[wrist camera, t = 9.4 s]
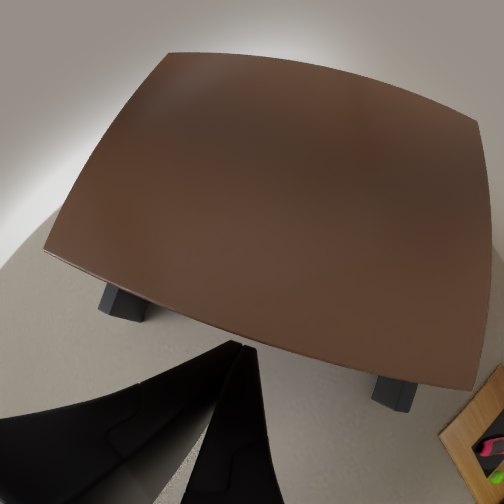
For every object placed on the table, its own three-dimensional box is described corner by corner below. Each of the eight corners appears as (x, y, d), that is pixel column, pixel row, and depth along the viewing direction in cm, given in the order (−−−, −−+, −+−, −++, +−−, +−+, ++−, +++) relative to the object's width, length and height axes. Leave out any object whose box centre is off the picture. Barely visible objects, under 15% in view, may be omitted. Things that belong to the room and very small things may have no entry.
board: (483, 516, 8) (493, 522, 7) (437, 434, 12) (449, 440, 10) (535, 458, 9) (545, 461, 7) (499, 363, 12) (513, 363, 11)
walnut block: (359, 369, 14) (472, 391, 4) (167, 307, 16) (41, 250, 6) (390, 233, 16) (477, 120, 6) (216, 185, 18) (168, 52, 8)
